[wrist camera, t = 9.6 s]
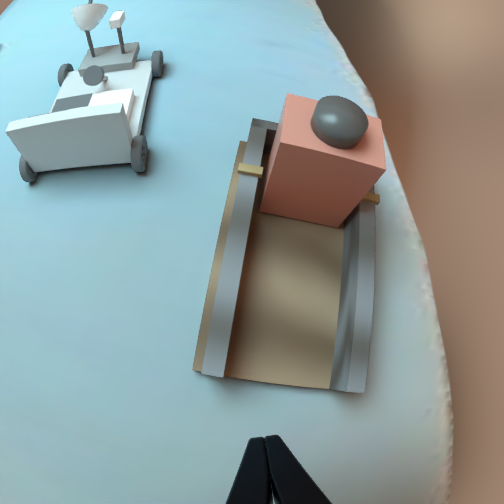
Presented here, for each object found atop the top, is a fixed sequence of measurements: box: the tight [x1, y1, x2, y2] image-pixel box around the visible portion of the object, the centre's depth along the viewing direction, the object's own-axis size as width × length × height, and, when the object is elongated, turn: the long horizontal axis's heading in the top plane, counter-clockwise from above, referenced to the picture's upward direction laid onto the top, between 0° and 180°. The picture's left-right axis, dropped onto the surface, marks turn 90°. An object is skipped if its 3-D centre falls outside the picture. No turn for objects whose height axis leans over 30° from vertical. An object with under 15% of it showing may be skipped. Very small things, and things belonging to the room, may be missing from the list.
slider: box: [259, 93, 386, 228], centre depth 20 cm, size 4×6×9 cm, turn 81°
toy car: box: [6, 0, 163, 182], centre depth 23 cm, size 18×10×12 cm
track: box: [192, 118, 380, 393], centre depth 21 cm, size 18×11×4 cm, turn 171°
